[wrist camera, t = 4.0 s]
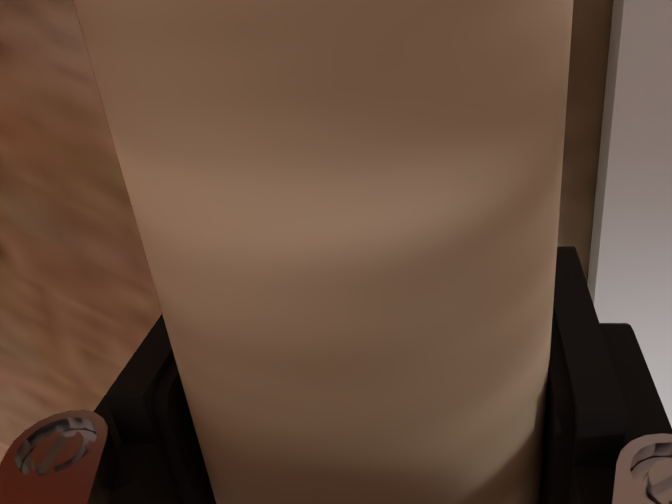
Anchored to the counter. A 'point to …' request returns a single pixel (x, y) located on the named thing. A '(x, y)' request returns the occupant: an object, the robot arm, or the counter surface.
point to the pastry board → (637, 186)
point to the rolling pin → (348, 233)
